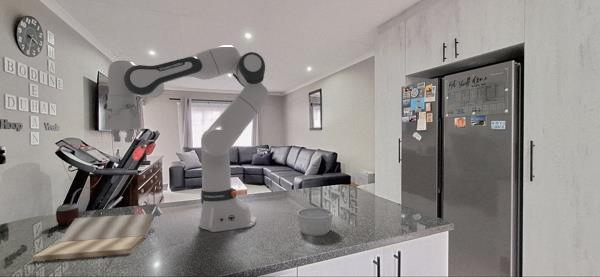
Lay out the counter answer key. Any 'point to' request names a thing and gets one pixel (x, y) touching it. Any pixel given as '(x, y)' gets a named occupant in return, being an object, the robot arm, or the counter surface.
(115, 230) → the whitewashed plank
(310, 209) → the ramekin
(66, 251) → the laid oak row
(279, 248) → the counter surface
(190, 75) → the robot arm
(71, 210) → the mate gourd
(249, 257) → the counter surface
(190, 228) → the counter surface
